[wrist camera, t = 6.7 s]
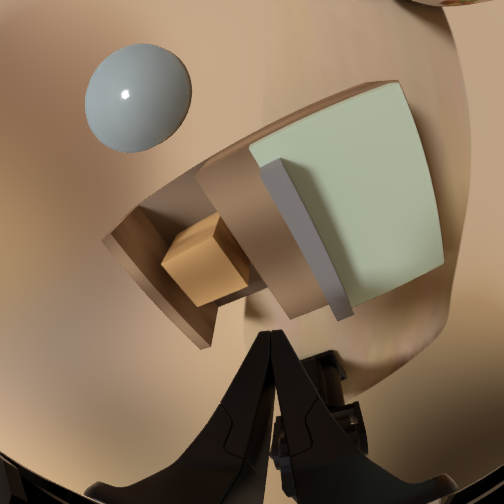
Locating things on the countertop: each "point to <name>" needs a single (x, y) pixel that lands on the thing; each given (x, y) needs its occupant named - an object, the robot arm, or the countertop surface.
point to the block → (207, 261)
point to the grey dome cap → (138, 98)
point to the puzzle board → (239, 223)
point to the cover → (355, 195)
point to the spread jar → (446, 2)
